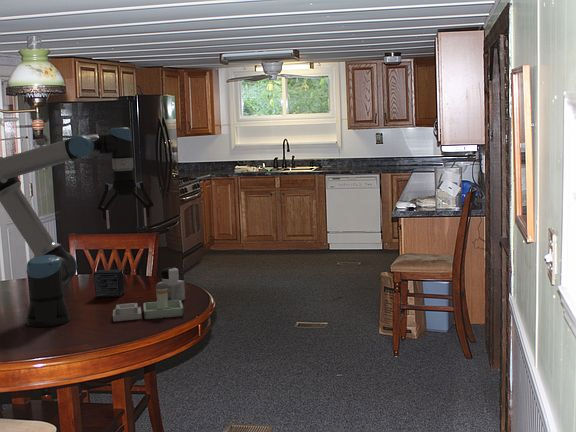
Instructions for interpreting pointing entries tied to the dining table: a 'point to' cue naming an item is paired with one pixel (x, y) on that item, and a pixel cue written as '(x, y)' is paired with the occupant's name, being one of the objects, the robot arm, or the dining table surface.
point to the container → (173, 284)
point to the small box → (109, 283)
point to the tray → (173, 310)
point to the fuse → (162, 296)
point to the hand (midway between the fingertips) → (127, 227)
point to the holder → (126, 312)
